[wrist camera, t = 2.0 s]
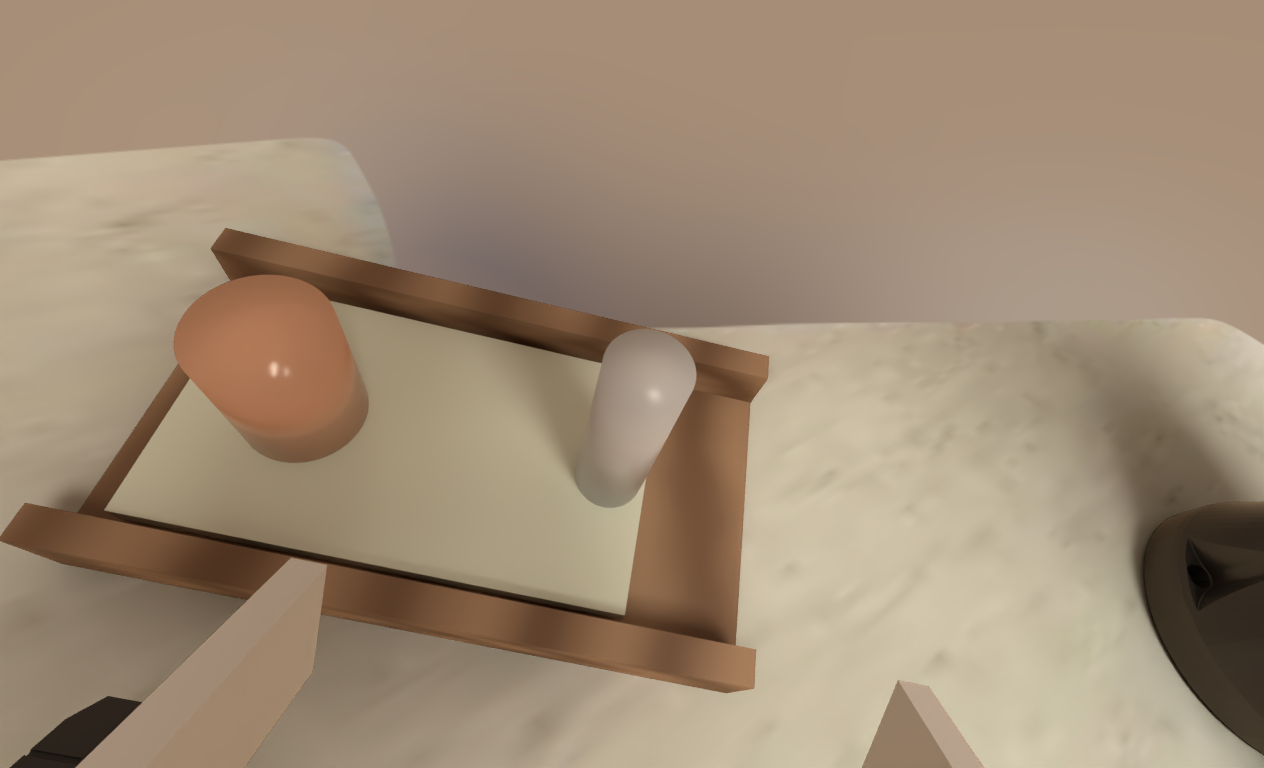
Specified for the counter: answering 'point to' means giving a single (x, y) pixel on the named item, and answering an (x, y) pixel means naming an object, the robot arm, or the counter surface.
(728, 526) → the tray
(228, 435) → the cream flat panel
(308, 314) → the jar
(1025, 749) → the counter surface
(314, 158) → the counter surface
